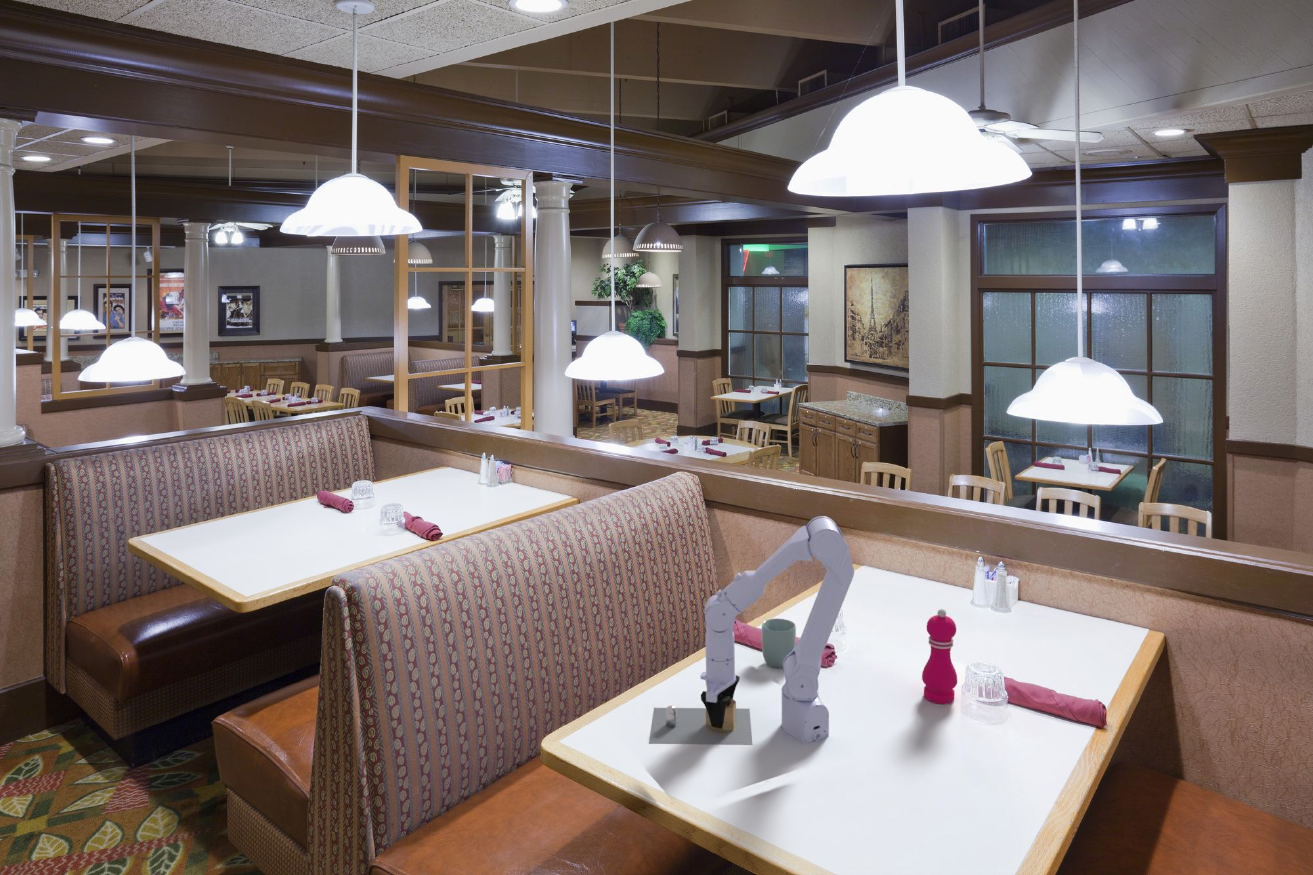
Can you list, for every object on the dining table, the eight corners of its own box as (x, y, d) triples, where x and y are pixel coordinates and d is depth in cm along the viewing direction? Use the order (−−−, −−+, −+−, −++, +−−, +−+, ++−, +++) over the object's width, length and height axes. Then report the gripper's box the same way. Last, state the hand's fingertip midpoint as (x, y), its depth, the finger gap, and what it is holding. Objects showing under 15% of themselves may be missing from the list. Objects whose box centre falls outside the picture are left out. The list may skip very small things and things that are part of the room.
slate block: (749, 715, 176) (749, 708, 175) (752, 751, 162) (752, 744, 162) (654, 714, 177) (654, 707, 177) (649, 750, 163) (649, 743, 163)
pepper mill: (959, 706, 177) (962, 616, 173) (923, 704, 178) (926, 615, 175) (954, 690, 184) (957, 603, 180) (919, 688, 185) (922, 602, 182)
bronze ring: (740, 728, 168) (740, 705, 167) (716, 735, 165) (715, 711, 164) (726, 715, 173) (725, 693, 172) (702, 722, 170) (701, 699, 169)
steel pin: (678, 726, 169) (678, 707, 168) (669, 728, 168) (668, 709, 167) (673, 721, 171) (673, 702, 170) (664, 723, 170) (663, 705, 169)
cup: (785, 674, 193) (785, 634, 192) (756, 666, 198) (755, 626, 196) (801, 662, 199) (801, 622, 198) (772, 654, 204) (772, 615, 202)
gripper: (710, 638, 174) (711, 699, 177) (690, 668, 161) (691, 734, 163) (743, 642, 172) (744, 703, 174) (726, 673, 159) (726, 739, 161)
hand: (721, 718), depth 169 cm, fingers closed on bronze ring, 6 cm apart
